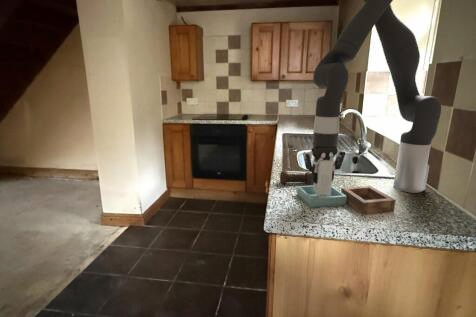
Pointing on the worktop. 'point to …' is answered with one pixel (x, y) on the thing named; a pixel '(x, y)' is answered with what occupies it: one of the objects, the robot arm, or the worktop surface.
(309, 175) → the bolt
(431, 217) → the worktop surface
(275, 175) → the worktop surface
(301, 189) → the tray
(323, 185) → the skincare box
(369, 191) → the holder
